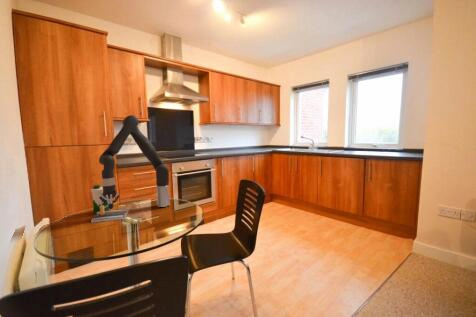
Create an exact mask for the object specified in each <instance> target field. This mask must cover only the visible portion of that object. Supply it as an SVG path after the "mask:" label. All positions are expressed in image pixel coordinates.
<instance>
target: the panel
mask: <svg viewBox="0 0 476 317" xmlns="http://www.w3.org/2000/svg"><path fill="white" fill-rule="evenodd" d="M129 212H130V211H129V210H128V209H127V211H126V212H116V213H107V215H117V214H124V216H123V217H118V218H108V219H98V220H93V219H92V218H91V220H90V223H91V224H92V223H100V222H101V223H102V222H110V221H112V222H113V221H120V220H121V219H122V220H125V219H124V218H125V217H126V216H127V217H128V215H129ZM105 214H106V213H105ZM127 214H128V215H127ZM98 215H99V214H95V215H94V217H97V216H98ZM107 215H106V216H107ZM127 217H126V218H127Z"/></svg>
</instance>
